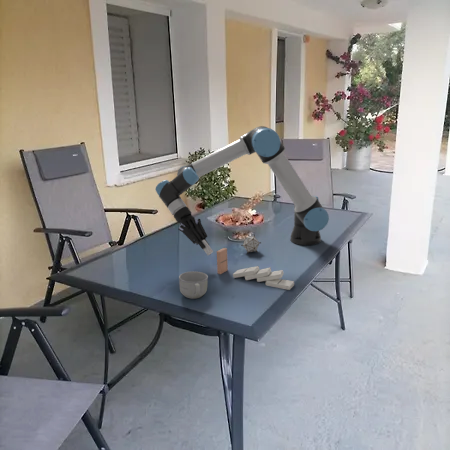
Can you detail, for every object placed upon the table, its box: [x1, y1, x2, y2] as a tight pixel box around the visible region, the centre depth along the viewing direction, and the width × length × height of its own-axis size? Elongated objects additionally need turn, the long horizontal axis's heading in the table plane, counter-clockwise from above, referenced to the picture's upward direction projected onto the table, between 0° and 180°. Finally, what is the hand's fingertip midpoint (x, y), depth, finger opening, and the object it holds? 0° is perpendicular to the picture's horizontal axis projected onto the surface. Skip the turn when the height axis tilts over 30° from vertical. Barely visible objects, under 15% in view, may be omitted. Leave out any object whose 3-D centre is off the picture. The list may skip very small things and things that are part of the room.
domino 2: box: [232, 265, 261, 279], centre depth 180 cm, size 2×5×10 cm
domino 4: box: [256, 269, 284, 283], centre depth 176 cm, size 2×5×10 cm
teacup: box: [178, 270, 209, 300], centre depth 164 cm, size 14×11×8 cm
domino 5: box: [265, 278, 295, 291], centre depth 172 cm, size 2×5×10 cm
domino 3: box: [244, 267, 272, 281], centre depth 177 cm, size 2×5×10 cm
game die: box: [240, 234, 262, 254], centre depth 207 cm, size 9×8×10 cm
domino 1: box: [216, 247, 229, 275], centre depth 185 cm, size 2×5×10 cm, turn 142°
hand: (210, 253), depth 189 cm, fingers closed
